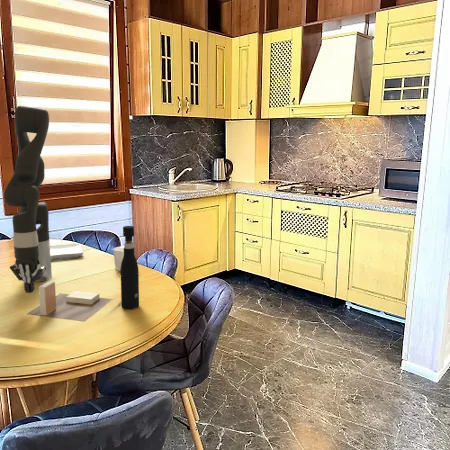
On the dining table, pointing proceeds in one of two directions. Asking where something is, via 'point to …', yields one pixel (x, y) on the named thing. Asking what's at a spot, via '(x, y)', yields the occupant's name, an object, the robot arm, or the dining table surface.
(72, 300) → the tile teal
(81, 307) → the board
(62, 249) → the salad plate
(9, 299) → the dining table surface
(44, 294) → the tile terracotta
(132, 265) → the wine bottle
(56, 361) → the dining table surface
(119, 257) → the white cup
